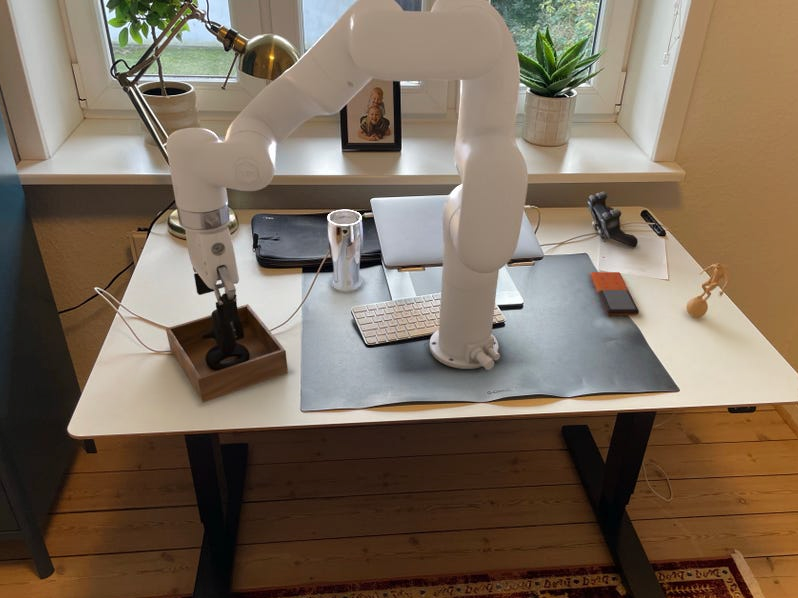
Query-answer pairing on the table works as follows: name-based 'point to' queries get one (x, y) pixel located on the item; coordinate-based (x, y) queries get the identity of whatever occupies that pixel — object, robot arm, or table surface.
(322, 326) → the table surface
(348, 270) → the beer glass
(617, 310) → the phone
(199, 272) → the robot arm
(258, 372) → the wooden box
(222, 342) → the webcam
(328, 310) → the table surface
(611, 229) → the dark grey mechanical bracket
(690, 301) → the figurine
